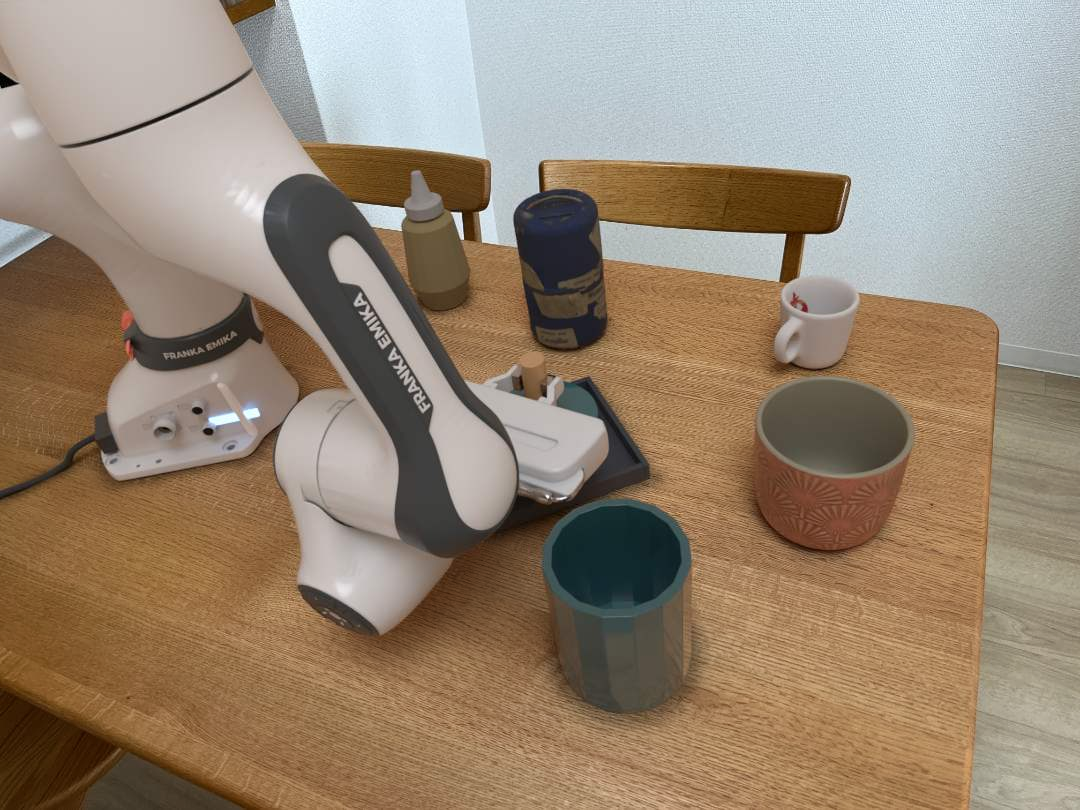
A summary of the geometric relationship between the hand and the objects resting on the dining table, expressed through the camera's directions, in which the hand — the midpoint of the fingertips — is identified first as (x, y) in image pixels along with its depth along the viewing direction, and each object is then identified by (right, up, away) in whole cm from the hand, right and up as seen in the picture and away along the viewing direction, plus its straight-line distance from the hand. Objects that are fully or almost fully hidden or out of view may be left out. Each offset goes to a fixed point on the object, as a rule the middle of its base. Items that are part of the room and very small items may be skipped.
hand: (539, 376), depth 77 cm
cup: (+29, +2, +13) cm, 32 cm away
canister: (+4, +6, +22) cm, 23 cm away
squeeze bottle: (-13, +11, +31) cm, 35 cm away
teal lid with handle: (0, -4, +3) cm, 5 cm away
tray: (+1, -8, +6) cm, 10 cm away
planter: (+25, -13, -3) cm, 28 cm away
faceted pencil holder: (+7, -23, -12) cm, 26 cm away
